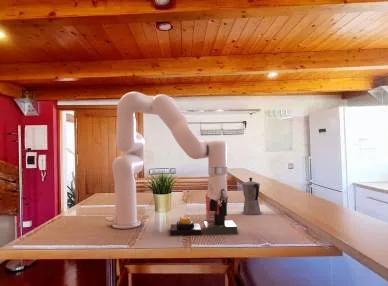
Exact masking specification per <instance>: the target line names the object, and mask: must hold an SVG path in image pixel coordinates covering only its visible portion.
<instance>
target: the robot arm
mask: <svg viewBox="0 0 388 286" xmlns="http://www.w3.org/2000/svg"><path fill="white" fill-rule="evenodd" d="M136 113H141V114H147V115H157V117H159V118H160V119H161V120H162V122H163V123H164V124H165V126H166V127H167V128H168V129H169V131H170V132H171V134H172V136H173V138H174V140H175V142H176V143H177V145H178V146H179V147H180V149H182V150H183V152H184V153H185V154H186V156H187V157H189V158H190V159H193V160H200V159H207V160H208V161H207V162H208V172H207V173H208V180H207V192H208V197H209V198H210V199H209V201H211V202H210V211H217V201H216V200H218V201H219V205H220V206H219V216H225V217H227V216H228V202H229V201H228V199H229V195H228V181H227V180H228V179H227V176H228V144H227V142H226V141H224V140H211V141H207V140H200V139H198V138H197V137H196V135H195V134H194V133H193V131H192V130H191V128H190V127H189V124H188V119H187V117H186V116H185V114H183V112H182V111H181V110H180V109H179V107H178V105H177V101H176V100H175V99H174V98H173V97H171V96H169V95H167V94H164V93H160V94H156V95H155V96H154V95H147V94H145V93H142V92H139V91H130V92H126V93H124V94H123V95H122V97H120V98H119V101H118V103H117V107H116V133H115V134H116V135H115V145H116V149H118V150H119V151H120V152H122V153H125V154H122V155H118V156H117V157H115V159H114V160H113V162H112V164H111V167H112V168H111V170H112V174H113V181H114V182H113V183H114V211H115V215H112V216H106V217H105V222H107V223H110V222H111V226H112V228H114V229H121V230H122V229H123V230H125V229H128V230H129V229H134V228H138V227H139V226H141V220H138V207H137V205H138V204H137V183H136V178H135V175H137V174H139V173H141V172H142V171H143V168H144V163H145V139H144V136H143V135H142V134H141V133H140V132H138V131H136V129H137V120H136V115H135V114H136Z"/></svg>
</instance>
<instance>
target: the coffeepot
mask: <svg viewBox="0 0 388 286" xmlns="http://www.w3.org/2000/svg"><path fill="white" fill-rule="evenodd" d="M248 179H249V180H248V181H245V182H242V183H241V187H242V192H243V197H244V201H243V210H242V214H244V215H247V216H256V215H261V209H260V202H259V195H260V185H261V183H260V182H257V181H253V177H249V178H248Z"/></svg>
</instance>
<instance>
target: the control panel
mask: <svg viewBox="0 0 388 286" xmlns="http://www.w3.org/2000/svg"><path fill="white" fill-rule="evenodd" d="M203 230H204V232H205V235H207V236H209V235H211V236H214V235H238V226H237V224H236V223H235V222H234V221H233V220H225V224H224V225H216V224H214V221H208V220H206V221H203Z"/></svg>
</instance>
